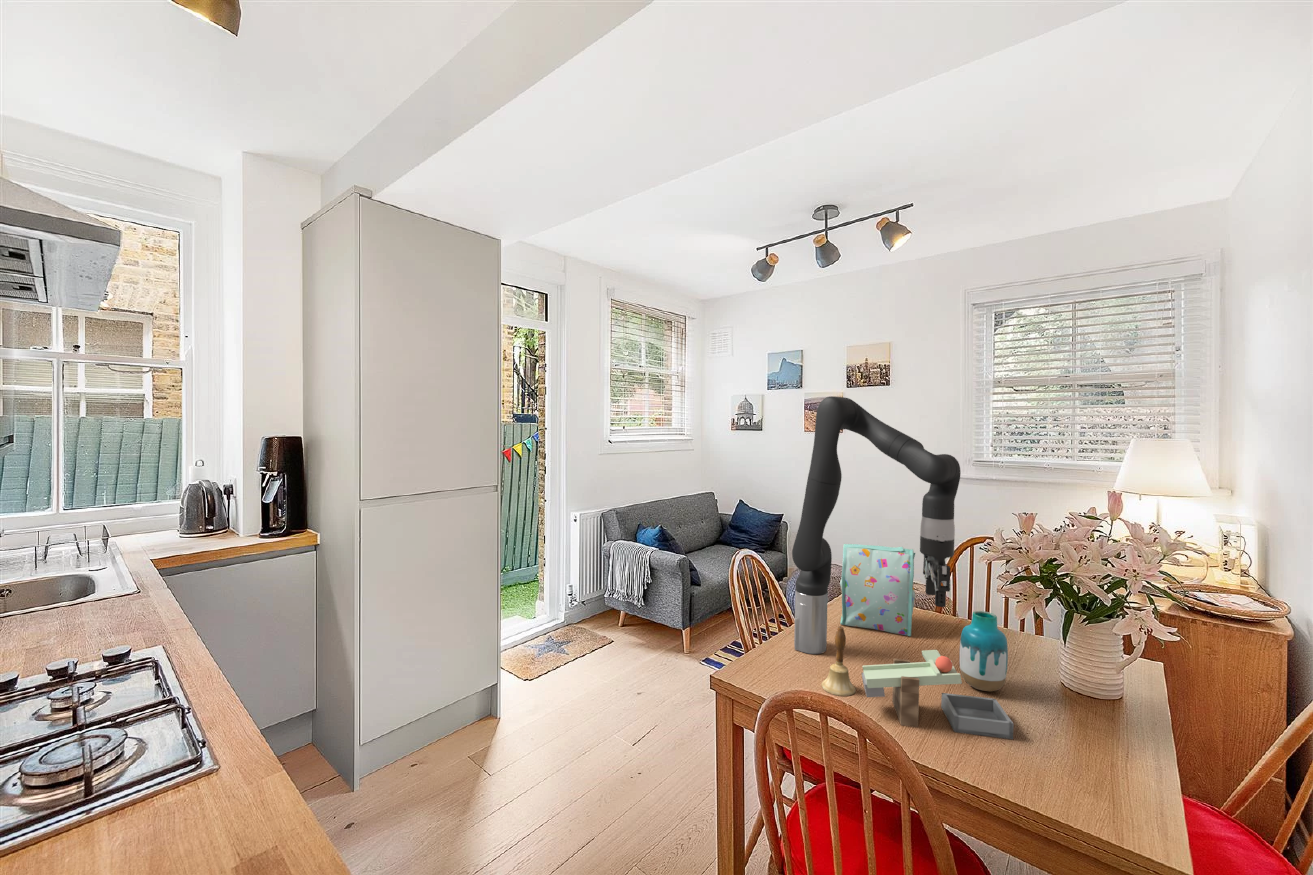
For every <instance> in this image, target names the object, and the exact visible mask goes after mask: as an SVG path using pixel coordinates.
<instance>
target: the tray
mask: <svg viewBox="0 0 1313 875" xmlns="http://www.w3.org/2000/svg"><path fill="white" fill-rule="evenodd" d="M940 698H941V703H940V707H941V709H942V711H943V713H944V715H945V718H946V719H947V720H948V723H949V725H950V727H951V729H952V731H953V732H954V733H959V734H965V735H966V734H968V735H975V736H981V737H982V736H983V737H991V738H999V739H1006V740H1014V727H1015V726H1014V724H1015V723H1014V722H1013V721H1012V719H1011V718H1010V717H1009V715H1008V714H1007V713H1006V711H1005V709H1004V708H1003V707H1002V706H1001V704H1000V702H998V700H997V699H996V698H993V697H992V698H991V697H982V696H973V695H963V694H955V693H947V692H941V697H940Z"/></svg>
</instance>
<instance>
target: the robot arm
mask: <svg viewBox="0 0 1313 875" xmlns="http://www.w3.org/2000/svg"><path fill="white" fill-rule="evenodd" d="M814 426H815V427H814V438H813V446H812V448H813V449H812V453H811V459H810V466H809V471H808V474H807V481H806V484H805V485H806V486H805V491H804V492H805V494H804V499H803V504H802V509H801V510H802V511H801V515H800V516H801V517H800V522H799V524H798V529H797V532H796V536H795V539H794V542H793V545H792V546H793V547H792V551H791V556H792V561H793V563H794V565H795V566H796V568H798V570H800V573H799V575H798V577H797V578H796V580H795V598H794V599H795V602H794V603H795V604H794V606H795V608H794V609H795V610H794V633H793V634H794V641H793V642H794V643H793V644H794V650H795V651H799V652H802V653H805V654H809V655H819V654H823V653H825V652H826V651H827V643H828V642H827V639H828V638H827V636H828V634H827V633H828V598H829V597H828V595H829V594H828V593H829V592H828V590H829V589H828V588H829V585H830V582H831V575H832V558H833V557H832V556H833V555H832V554H833V553H832V549H831V546H830V544H829V542H828V541H827V540H826V539H825V538H824V537H823V536H824V532H825V527H826V525H827V523H828V520H829V519H830V517H831V515H832V513H833V511H834V508H835V506H836V505H837V501H838V498H839V494H840V489H841V483H842V478H843V476H842V475H843V474H842V469H841V463H840V460H839V455H838V443H839V436H840V432H841V431H842V430H848V431H851V432H853V433H855V434H858V435H860V436H861V437H864V438H865V439H867V440H868V441H869V442H871V444H872V445H874V446H875V448H876V449H878V450H879V451H880V452H882V453H883V454H884V455H886V456H887V457H889V458H891V459H892V460H894V461H896V462H897V463H899V464H901V465H904V467H905V468H907V469H908V471H910V472H911V473H912V474H913V475H915V476H916V477H917V478H918V479H920V480H922V481H923V482H925V483H928V484H930V485H929V490H928V492H926V493H925V494H923V496H922V497H923V498H922V502H921V503H922V504H921V505H922V506H921V507H922V508H921V521H920V529H919V530H920V531H919V533H920V535H919V552H920V554H922V555H923V568H922V575H923V576H924V579H925V594H926V595H927V596H934V605H935V606H936V607H937V608H939V607H940V608H945V607H946V602H947V601H946V599H947V593H948V592H950V591H951V566H950V565H948V564H947V563H946V559H947V558H949V559H950V558H953V557H954V555H955V536H956V534H955V533H956V529H955V527H956V526H955V499H956V496H957V493H958V489H959V485H960V482H961V472H962V471H961V467H960V463H959V461H958V459H957V458H956V457H955V456H953V455H951V454H948V453H941V454H934V453H932V452H930V451H928V450H927V449H925V447H924V445H923V443H921V442H920V441H919V440H917V439H915V438H913V437H911V436H910V435H908V434H905V433H904V432H902V431H900V430H898V429H896V428H894V427H892V426H890V425H889V424H886V423H885V422H883V421H881V420H880V419H878V418H877V417H875V415H872V413H870V412H869V411H867V410H866V409H865V408H864V407H862V406H861V405H859V403H857V402H856V401H854V400H853V399H851V398H849V397H843V396H842V397H841V396H831V395H830V396H827V397H825V398H823V399H822V400H821V401H820V403H819V405H818V406H817V409H816V415H815V425H814Z"/></svg>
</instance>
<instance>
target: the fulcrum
mask: <svg viewBox="0 0 1313 875" xmlns="http://www.w3.org/2000/svg"><path fill="white" fill-rule="evenodd" d="M899 663H911V660H910V659H903V658H902V659H901V658H893V662H892V664H899ZM891 701H892V704H893V708H894V710H895V713H896V715H897V718H898V721H899V724H900V725H901V726H905V727H914V728H919V712H920V711H919V709H920V708H919V707H920V706H919V704H920V686H919V678H914V677H904V676H901V687H892V698H891Z"/></svg>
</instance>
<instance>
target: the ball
mask: <svg viewBox="0 0 1313 875" xmlns="http://www.w3.org/2000/svg"><path fill="white" fill-rule="evenodd" d="M951 661H952V660H951V659H950V658H949V657H947V656H945V655H941V656H940V657H938V658H937V659H936V662H935V664H936V667H937V668H938V670H940V671H941V672H949V671H951V669H952V667H954V664H953V661H952V662H951ZM952 664H953V665H952Z"/></svg>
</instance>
